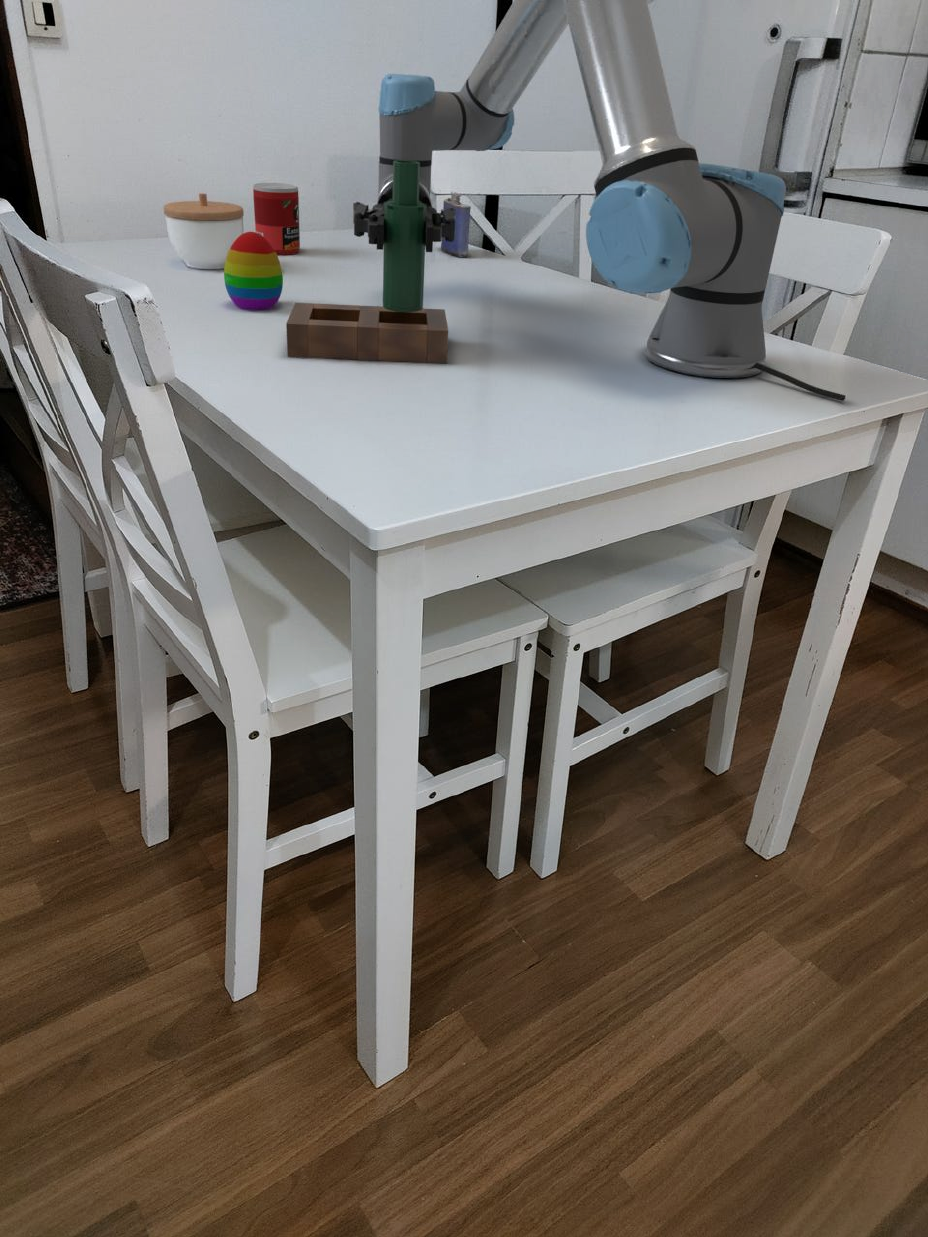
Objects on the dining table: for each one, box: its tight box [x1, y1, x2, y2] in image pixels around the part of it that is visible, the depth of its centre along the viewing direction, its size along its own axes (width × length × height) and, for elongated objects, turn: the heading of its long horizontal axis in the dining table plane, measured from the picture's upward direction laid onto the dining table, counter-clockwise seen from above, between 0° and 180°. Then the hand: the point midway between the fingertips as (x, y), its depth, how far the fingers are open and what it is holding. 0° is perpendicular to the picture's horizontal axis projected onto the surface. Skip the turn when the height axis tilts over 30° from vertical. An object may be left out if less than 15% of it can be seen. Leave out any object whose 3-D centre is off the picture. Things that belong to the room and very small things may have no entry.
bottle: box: [382, 160, 427, 312], centre depth 113 cm, size 5×5×16 cm
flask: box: [440, 191, 471, 258], centre depth 177 cm, size 9×3×11 cm, turn 25°
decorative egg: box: [223, 231, 284, 311], centre depth 132 cm, size 8×8×10 cm
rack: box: [285, 302, 449, 364], centre depth 118 cm, size 20×11×4 cm, turn 93°
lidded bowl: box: [163, 192, 245, 270], centre depth 154 cm, size 13×13×11 cm
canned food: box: [252, 182, 301, 256], centre depth 168 cm, size 8×8×11 cm
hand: (404, 238), depth 108 cm, fingers closed on bottle, 5 cm apart
